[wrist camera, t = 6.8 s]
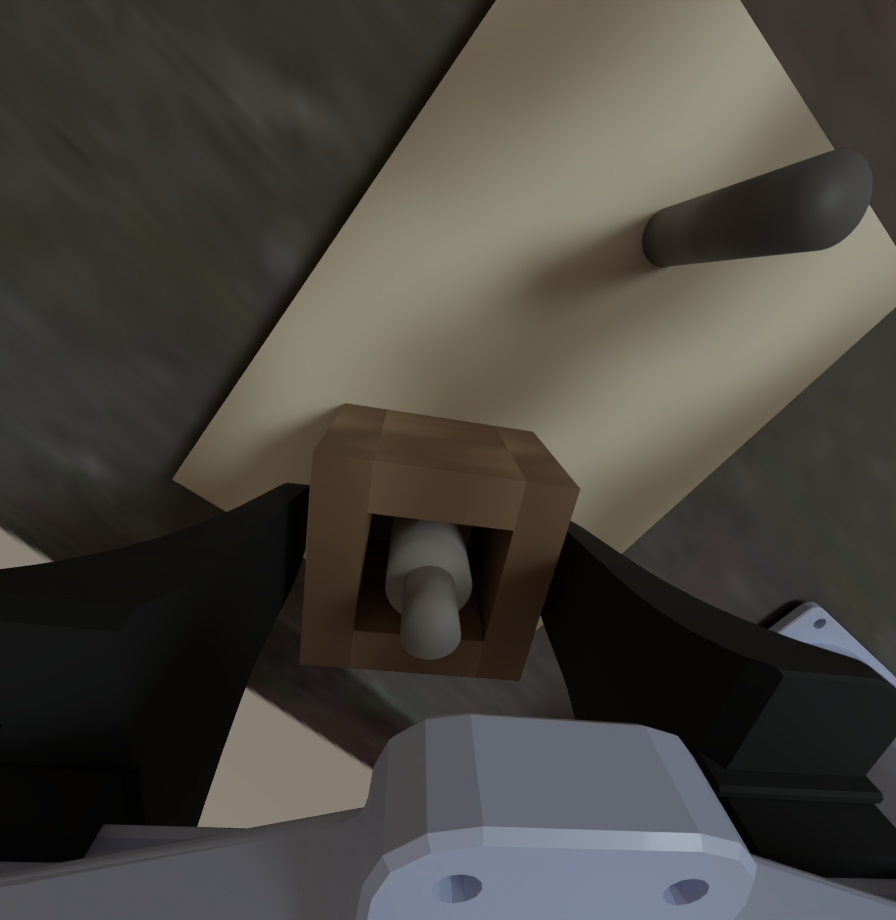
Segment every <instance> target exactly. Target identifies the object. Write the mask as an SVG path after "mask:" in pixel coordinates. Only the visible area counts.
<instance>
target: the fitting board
mask: <svg viewBox="0 0 896 920" xmlns="http://www.w3.org/2000/svg"><path fill="white" fill-rule="evenodd" d="M872 188H873V178H872V172H871V169H870V166H869V164H868V162H867V161H866V160H865V158H864V157H863V156H862V155H860V154H859V153H857V152H855V151H853V150H849V149H837V150H834V148H833V147H832V145H831V143H830V142H829V140H828V139H827V137H826V136H825V134H824V132H823V131H822V129H821V128H820V126H819V124H818V123H817V121H816V120H815V118H814V117H813V115H812V113H811V112H810V110H809V109H808V107H807V105H806V104H805V102H804V101H803V99H802V98H801V96H800V94H799V93H798V91H797V90H796V88H795V87H794V85H793V83H792V82H791V80H790V79H789V77H788V75H787V74H786V72H785V71H784V69H783V68H782V66H781V64H780V63H779V61H778V60H777V58H776V56H775V55H774V53H773V52H772V50H771V49H770V47H769V45H768V44H767V42H766V41H765V39H764V38H763V36H762V34H761V33H760V31H759V30H758V28H757V26H756V25H755V23H754V22H753V20H752V19H751V17H750V15H749V14H748V12H747V11H746V9H745V7H744V6H743V4H742V3H741V1H740V0H496V1H495V3H494V4H493V5H492V7H491V8H490V10H489V11H488V13H487V14H486V16H485V17H484V19H483V20H482V22H481V23H480V25H479V26H478V28H477V29H476V31H475V32H474V34H473V35H472V37H471V38H470V39H469V41H468V42H467V44H466V45H465V47H464V48H463V50H462V51H461V53H460V54H459V56H458V57H457V59H456V60H455V62H454V63H453V65H452V66H451V68H450V69H449V71H448V72H447V73H446V75H445V76H444V78H443V79H442V81H441V82H440V84H439V85H438V87H437V88H436V90H435V91H434V93H433V94H432V96H431V97H430V99H429V100H428V102H427V103H426V105H425V106H424V107H423V109H422V110H421V112H420V113H419V115H418V116H417V118H416V119H415V121H414V122H413V124H412V125H411V127H410V128H409V130H408V131H407V133H406V134H405V136H404V137H403V139H402V140H401V141H400V143H399V144H398V146H397V147H396V149H395V150H394V152H393V153H392V155H391V156H390V158H389V159H388V161H387V162H386V164H385V165H384V167H383V168H382V170H381V171H380V173H379V174H378V175H377V177H376V178H375V180H374V181H373V183H372V184H371V186H370V187H369V189H368V190H367V192H366V193H365V195H364V196H363V198H362V199H361V201H360V202H359V204H358V205H357V207H356V208H355V210H354V211H353V212H352V214H351V215H350V217H349V218H348V220H347V221H346V223H345V224H344V226H343V227H342V229H341V230H340V232H339V233H338V235H337V236H336V238H335V239H334V241H333V242H332V244H331V245H330V246H329V248H328V249H327V251H326V252H325V254H324V255H323V257H322V258H321V260H320V261H319V263H318V264H317V266H316V267H315V269H314V270H313V272H312V273H311V275H310V276H309V278H308V279H307V280H306V282H305V283H304V285H303V286H302V288H301V289H300V291H299V292H298V294H297V295H296V297H295V298H294V300H293V301H292V303H291V304H290V306H289V307H288V309H287V310H286V312H285V313H284V314H283V316H282V317H281V319H280V320H279V322H278V323H277V325H276V326H275V328H274V329H273V331H272V332H271V334H270V335H269V337H268V338H267V340H266V341H265V343H264V344H263V346H262V347H261V348H260V350H259V351H258V353H257V354H256V356H255V357H254V359H253V360H252V362H251V363H250V365H249V366H248V368H247V369H246V371H245V372H244V374H243V375H242V377H241V378H240V380H239V381H238V382H237V384H236V385H235V387H234V388H233V390H232V391H231V393H230V394H229V396H228V397H227V399H226V400H225V402H224V403H223V405H222V406H221V408H220V409H219V411H218V412H217V414H216V415H215V416H214V418H213V419H212V421H211V422H210V424H209V425H208V427H207V428H206V430H205V431H204V433H203V434H202V436H201V437H200V439H199V440H198V442H197V443H196V445H195V446H194V448H193V449H192V450H191V452H190V453H189V455H188V456H187V458H186V459H185V461H184V462H183V464H182V465H181V467H180V468H179V470H178V471H177V473H176V474H175V476H174V477H173V479H172V480H174V481H175V482H177V483H179V484H180V485H182V486H184V487H185V488H187V489H189V490H190V491H192V492H194V493H196V494H197V495H199V496H201V497H202V498H204V499H206V500H207V501H209V502H211V503H212V504H214V505H216V506H217V507H219V508H221V509H222V510H224V511H226V512H228V511H230V510H232V509H234V508H236V507H239V506H241V505H243V504H245V503H247V502H248V501H250V500H252V499H254V498H256V497H258V496H260V495H262V494H264V493H266V492H268V491H270V490H272V489H274V488H276V487H278V486H280V485H282V484H284V483H287V482H288V483H295V484H303V485H310V487H311V471H312V455H313V451H314V450H315V448H316V447H317V445H318V444H319V442H320V441H321V439H322V438H323V436H324V435H325V433H326V432H327V430H328V429H329V427H330V426H331V424H332V423H333V421H334V420H335V418H336V417H337V415H338V414H339V412H340V411H341V409H342V408H343V406H344V405H345V403H348V404H355V405H362V406H368V407H375V408H381V409H388V410H394V411H401V412H408V413H414V414H421V415H427V416H434V417H440V418H447V419H454V420H460V421H467V422H473V423H480V424H486V425H493V426H500V427H506V428H513V429H519V430H526V431H532V432H534V433H535V434H536V436H537V437H538V438H539V439H540V440H541V442H542V443H543V444H544V445H545V446H546V448H547V449H548V450H549V451H550V453H551V454H552V455H553V456H554V457H555V459H556V460H557V461H558V462H559V463H560V465H561V466H562V467H563V468H564V470H565V471H566V472H567V473H568V474H569V476H570V477H571V478H572V479H573V480H574V482H575V483H576V484H577V485H578V487H579V488H580V492H579V496H578V499H577V502H576V505H575V508H574V511H573V514H572V517H571V521H572V522H574V523H576V524H578V525H579V526H581V527H582V528H584V529H585V530H587V531H588V532H590V533H591V534H593V535H594V536H596V537H597V538H599V539H600V540H602V541H603V542H604V543H606V544H607V545H609V546H610V547H612V548H613V549H615V550H616V551H618V552H619V553H620V554H622V553H623V552H624V551H625V550H626V549H627V548H628V547H630V546H631V545H632V544H633V543H634V542H635V541H636V540H637V539H638V538H640V537H641V536H642V535H643V534H644V533H645V532H646V531H647V530H648V529H650V528H651V527H652V526H653V525H654V524H655V523H656V522H657V521H658V520H660V519H661V518H662V517H663V516H664V515H665V514H666V513H667V512H668V511H670V510H671V509H672V508H673V507H674V506H675V505H676V504H677V503H678V502H680V501H681V500H682V499H683V498H684V497H685V496H686V495H687V494H688V493H690V492H691V491H692V490H693V489H694V488H695V487H696V486H697V485H698V484H700V483H701V482H702V481H703V480H704V479H705V478H706V477H707V476H708V475H710V474H711V473H712V472H713V471H714V470H715V469H716V468H717V467H718V466H720V465H721V464H722V463H723V462H724V461H725V460H726V459H727V458H728V457H730V456H731V455H732V454H733V453H734V452H735V451H736V450H737V449H738V448H740V447H741V446H742V445H743V444H744V443H745V442H746V441H747V440H748V439H750V438H751V437H752V436H753V435H754V434H755V433H756V432H757V431H758V430H760V429H761V428H762V427H763V426H764V425H765V424H766V423H767V422H768V421H770V420H771V419H772V418H773V417H774V416H775V415H776V414H777V413H778V412H780V411H781V410H782V409H783V408H784V407H785V406H786V405H787V404H788V403H790V402H791V401H792V400H793V399H794V398H795V397H796V396H797V395H798V394H800V393H801V392H802V391H803V390H804V389H805V388H806V387H807V386H808V385H810V384H811V383H812V382H813V381H814V380H815V379H816V378H817V377H818V376H820V375H821V374H822V373H823V372H824V371H825V370H826V369H827V368H828V367H830V366H831V365H832V364H833V363H834V362H835V361H836V360H837V359H838V358H840V357H841V356H842V355H843V354H844V353H845V352H846V351H847V350H848V349H850V348H851V347H852V346H853V345H854V344H855V343H856V342H857V341H858V340H860V339H861V338H862V337H863V336H864V335H865V334H866V333H867V332H868V331H870V330H871V329H872V328H873V327H874V326H875V325H876V324H877V323H878V322H880V321H881V320H882V319H883V318H884V317H885V316H886V315H887V314H888V313H890V312H891V311H892V310H893V309H894V308H895V307H896V246H895V245H894V243H893V241H892V240H891V238H890V237H889V235H888V234H887V232H886V230H885V229H884V227H883V226H882V224H881V222H880V221H879V219H878V218H877V216H876V215H875V213H874V211H873V210H872V208H871V207H870V205H869V203H870V199H871V195H872ZM309 503H310V493H309ZM308 518H309V508H308ZM471 530H472V526H471V525H462V524H454V523H446V522H438V521H429V520H421V519H413V518H405V517H396V516H388V515H380V514H374V521H373V528H372V536H371V539H375V540H384V541H390V549H389V557H388V566H387V575H386V583H385V591H386V595H387V598H388V601H389V602H390V604H391V605H392V607H393V608H394V609H395V610H396V611H397V612H399V613H400V614H401V630H400V641H401V644H402V646H403V648H404V649H405V650H406V652H408V653H409V654H410V655H412V656H414V657H416V658H419V659H425V660H434V659H439V658H442V657H445V656H447V655H449V654H450V653H451V652H453V651H454V650H455V649H456V648H457V646H458V644H459V642H460V639H461V630H460V622H459V614H458V611H459V610H460V609H461V608H462V607H463V606H464V605H465V604H466V602H467V601H468V599H469V597H470V594H471V591H472V579H471V573H470V568H469V562H468V557H467V551H466V550H467V548H468V543H469V539H470V534H471ZM307 534H308V523H307ZM306 550H307V538H306ZM306 550H305V553H304V556H303V558H304V559H306ZM542 625H543V621H542V619H541V616H540V618H539V621H538V624H537V627H536V630H537V629H539V628H540V627H541V626H542Z"/></svg>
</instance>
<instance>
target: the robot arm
mask: <svg viewBox="0 0 896 920" xmlns="http://www.w3.org/2000/svg"><path fill="white" fill-rule="evenodd" d="M309 493H310V485H303V484H295V483H288V482H287V483H284V484H282V485H280V486H278V487H276V488H274V489H272V490H270V491H268V492H266V493H264V494H262V495H260V496H258V497H256V498H254V499H252V500H250V501H248V502H247V503H245V504H243V505H241V506H239V507H236V508H234V509H232V510H230V511H228V512H225V513H223V514H221V515H219V516H216V517H214V518H212V519H210V520H207V521H205V522H203V523H200V524H198V525H195V526H192V527H190V528H187V529H184V530H181V531H178V532H175V533H172V534H169V535H166V536H163V537H160V538H157V539H153V540H149V541H145V542H142V543H138V544H134V545H130V546H127V547H123V548H119V549H115V550H111V551H107V552H102V553H97V554H92V555H88V556H83V557H77V558H72V559H66V560H61V561H55V562H49V563H43V564H37V565H29V566H22V567H14V568H6V569H0V920H896V677H895V676H893V675H892V674H891V673H890V672H889V671H888V670H887V669H886V668H885V667H884V666H883V665H882V664H881V663H880V662H879V661H878V660H877V659H875V658H874V657H873V656H872V655H871V654H870V653H869V652H868V651H867V650H866V649H865V648H864V647H863V646H862V645H861V644H860V643H859V642H857V641H856V640H855V639H854V638H853V637H852V636H851V635H850V634H849V633H848V632H847V631H846V630H845V629H844V628H843V627H842V626H841V625H839V624H838V623H837V622H836V621H835V620H834V619H833V618H832V617H831V616H830V615H829V614H828V613H827V612H826V611H825V610H824V609H822V608H821V607H820V606H819V605H817V604H816V603H814V602H806V603H803V604H801V605H799V606H798V607H797V608H795V609H794V610H793V611H791V612H790V613H789V614H787V615H786V616H785V617H783V618H782V619H781V620H779V621H778V622H777V623H775V624H774V625H773V626H771V627H770V628H769V629H766V628H763V627H761V626H758V625H756V624H753V623H751V622H748V621H746V620H743V619H741V618H739V617H736V616H734V615H732V614H729V613H727V612H725V611H723V610H721V609H718V608H716V607H714V606H712V605H710V604H707V603H705V602H703V601H701V600H699V599H697V598H695V597H693V596H691V595H689V594H687V593H686V592H684V591H682V590H680V589H678V588H676V587H674V586H672V585H671V584H669V583H667V582H665V581H663V580H662V579H660V578H658V577H657V576H655V575H653V574H652V573H650V572H648V571H647V570H645V569H644V568H642V567H640V566H639V565H637V564H636V563H634V562H633V561H631V560H629V559H628V558H626V557H625V556H623V555H622V554H620V553H619V552H618V551H616V550H615V549H613V548H612V547H610V546H609V545H607V544H606V543H604V542H603V541H602V540H600V539H599V538H597V537H596V536H594V535H593V534H591V533H590V532H588V531H587V530H585V529H584V528H582V527H581V526H579V525H578V524H576V523H574V522H572V521H570V524H569V527H568V530H567V533H566V536H565V539H564V543H563V546H562V549H561V552H560V555H559V558H558V561H557V565H556V568H555V571H554V574H553V577H552V580H551V583H550V587H549V590H548V593H547V596H546V599H545V602H544V605H543V609H542V612H541V615H540V616H541V619H542V621H543V624H544V627H545V629H546V632H547V635H548V637H549V640H550V643H551V645H552V648H553V650H554V653H555V656H556V658H557V661H558V664H559V666H560V669H561V672H562V674H563V677H564V680H565V683H566V686H567V689H568V693H569V697H570V701H571V704H572V708H573V712H574V716H575V720H573V719H558V718H543V717H528V716H513V715H499V714H484V713H469V712H466V713H458V714H450V715H441V716H433V717H428V718H426V719H424V720H422V721H420V722H419V723H417V724H415V725H413V726H411V727H410V728H408V729H406V730H404V731H402V732H400V733H399V734H397V735H395V736H394V737H393V738H391V739H390V740H389V741H388V743H387V745H386V747H385V748H384V750H383V752H382V753H381V755H380V757H379V758H378V760H377V762H376V763H375V765H374V767H373V772H372V778H371V784H370V790H369V796H368V799H367V802H366V804H365V807H363V808H357V809H352V810H347V811H341V812H335V813H330V814H325V815H319V816H313V817H308V818H302V819H297V820H292V821H286V822H280V823H275V824H269V825H264V826H258V827H253V828H248V829H246V828H213V827H197V826H198V822H199V819H200V816H201V813H202V810H203V807H204V804H205V801H206V798H207V795H208V793H209V790H210V786H211V783H212V781H213V778H214V775H215V772H216V769H217V766H218V763H219V760H220V757H221V754H222V751H223V748H224V746H225V743H226V740H227V737H228V734H229V732H230V729H231V726H232V723H233V720H234V718H235V714H236V712H237V709H238V707H239V704H240V701H241V698H242V696H243V693H244V690H245V688H246V685H247V682H248V680H249V677H250V674H251V672H252V669H253V666H254V664H255V662H256V660H257V657H258V655H259V653H260V651H261V648H262V646H263V644H264V642H265V640H266V638H267V636H268V634H269V632H270V630H271V628H272V626H273V624H274V622H275V620H276V618H277V616H278V614H279V612H280V610H281V608H282V606H283V604H284V602H285V600H286V598H287V596H288V594H289V592H290V590H291V588H292V586H293V584H294V582H295V580H296V577H297V574H298V571H299V568H300V565H301V562H302V559H303V556H304V553H305V550H306V538H307V523H308V508H309Z"/></svg>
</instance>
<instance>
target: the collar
mask: <svg viewBox="0 0 896 920" xmlns="http://www.w3.org/2000/svg"><path fill="white" fill-rule="evenodd" d="M579 492H580V488H579V487H578V485H577V484H576V483H575V482H574V480H573V479H572V478H571V477H570V476H569V474H568V473H567V472H566V471H565V470H564V468H563V467H562V466H561V465H560V463H559V462H558V461H557V460H556V459H555V457H554V456H553V455H552V454H551V453H550V451H549V450H548V449H547V448H546V446H545V445H544V444H543V443H542V442H541V440H540V439H539V438H538V437H537V436H536V434H535V433H534V432H532V431H526V430H519V429H513V428H506V427H500V426H493V425H486V424H480V423H473V422H467V421H460V420H454V419H447V418H440V417H434V416H427V415H421V414H414V413H408V412H401V411H394V410H388V409H381V408H375V407H368V406H362V405H355V404H348V403H345V405H344V406H343V408H342V409H341V411H340V412H339V414H338V415H337V417H336V418H335V420H334V421H333V423H332V424H331V426H330V427H329V429H328V430H327V432H326V433H325V435H324V436H323V438H322V439H321V441H320V442H319V444H318V445H317V447H316V448H315V450H314V451H313V455H312V471H311V487H310V503H309V518H308V534H307V550H306V566H305V582H304V597H303V613H302V629H301V645H300V661H299V664H303V665H316V666H329V667H342V668H355V669H369V670H382V671H395V672H408V673H421V674H435V675H448V676H461V677H474V678H487V679H501V680H514V681H520V678H521V675H522V671H523V668H524V665H525V662H526V659H527V656H528V653H529V649H530V646H531V643H532V640H533V637H534V634H535V631H536V627H537V624H538V621H539V618H540V615H541V612H542V609H543V605H544V602H545V599H546V596H547V593H548V590H549V587H550V583H551V580H552V577H553V574H554V571H555V568H556V565H557V561H558V558H559V555H560V552H561V549H562V546H563V543H564V539H565V536H566V533H567V530H568V527H569V524H570V521H571V517H572V514H573V511H574V508H575V505H576V502H577V499H578V496H579ZM374 514H380V515H388V516H396V517H405V518H413V519H421V520H429V521H438V522H446V523H454V524H462V525H471V526H472V530H471V534H470V539H469V543H468V548H467V550H466V551H467V557H468V562H469V568H470V573H471V579H472V591H471V594H470V597H469V599H468V601H467V602H466V604H465V605H464V606H463V607H462V608H461V609H460V610H459V611H458V614H459V622H460V630H461V639H460V642H459V644H458V646H457V648H456V649H455V650H454V651H453V652H451V653H450V654H449V655H447V656H445V657H442V658H439V659H434V660H425V659H419V658H416V657H414V656H412V655H410V654H409V653H408V652H406V650H405V649H404V648H403V646H402V644H401V641H400V630H401V614H400V613H399V612H397V611H396V610H395V609H394V608H393V607H392V605H391V604H390V602H389V601H388V598H387V595H386V591H385V583H386V575H387V566H388V557H389V549H390V541H384V540H375V539H371V536H372V528H373V521H374Z"/></svg>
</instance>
